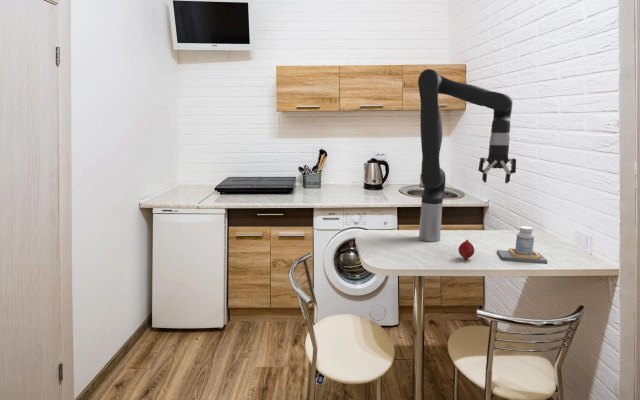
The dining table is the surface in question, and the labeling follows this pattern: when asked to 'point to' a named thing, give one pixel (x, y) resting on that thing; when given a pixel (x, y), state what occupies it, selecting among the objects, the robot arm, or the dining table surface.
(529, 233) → the pill bottle
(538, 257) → the plate
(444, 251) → the dining table surface
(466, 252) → the onion
